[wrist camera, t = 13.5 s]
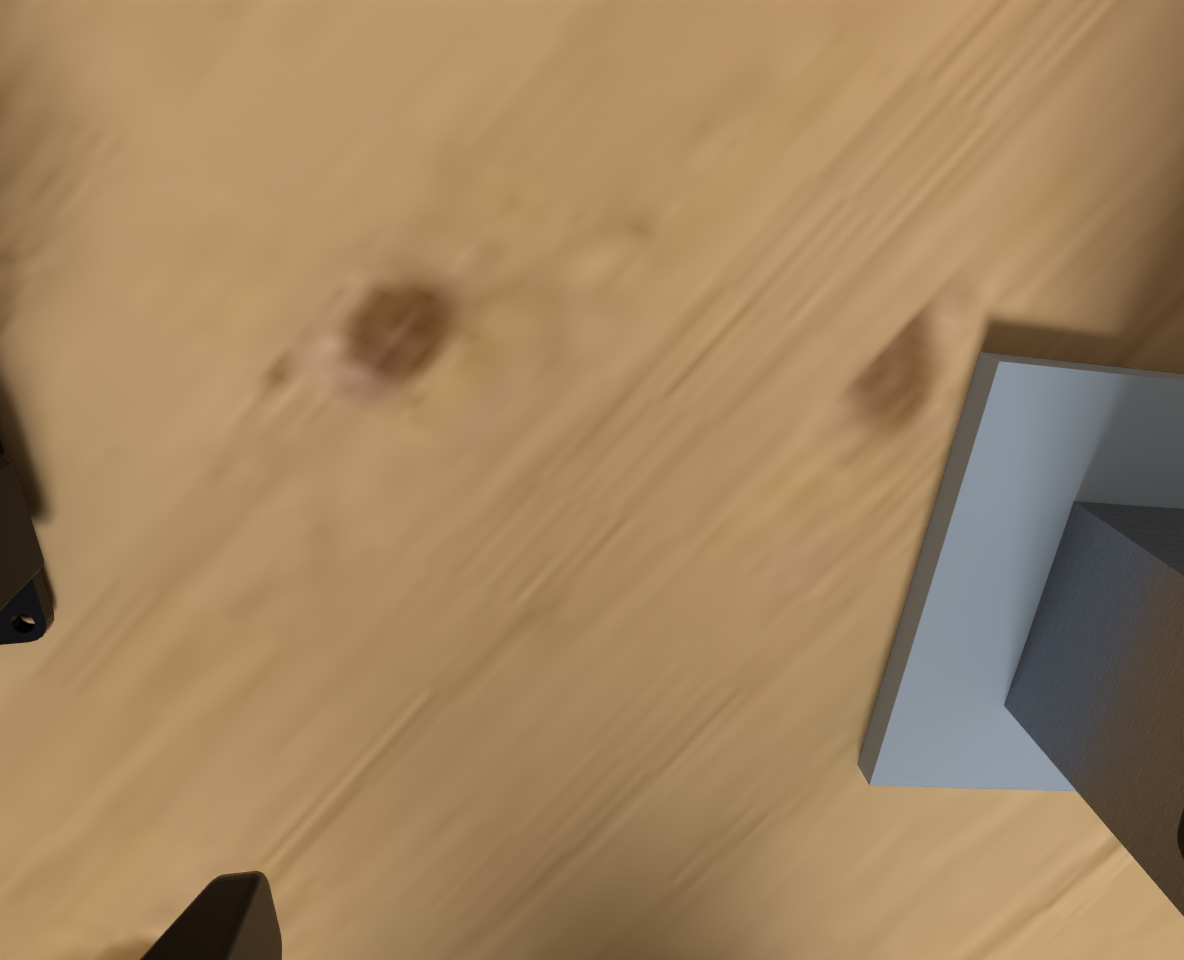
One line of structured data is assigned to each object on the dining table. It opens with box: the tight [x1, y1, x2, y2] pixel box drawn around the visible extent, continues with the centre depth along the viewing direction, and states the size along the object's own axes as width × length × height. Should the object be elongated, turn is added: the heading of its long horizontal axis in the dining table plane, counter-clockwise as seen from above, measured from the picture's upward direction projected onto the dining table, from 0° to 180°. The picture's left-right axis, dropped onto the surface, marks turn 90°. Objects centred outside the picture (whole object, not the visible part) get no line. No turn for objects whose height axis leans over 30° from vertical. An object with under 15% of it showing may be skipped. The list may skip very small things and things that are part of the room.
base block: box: [858, 352, 1184, 791], centre depth 23 cm, size 12×12×4 cm
